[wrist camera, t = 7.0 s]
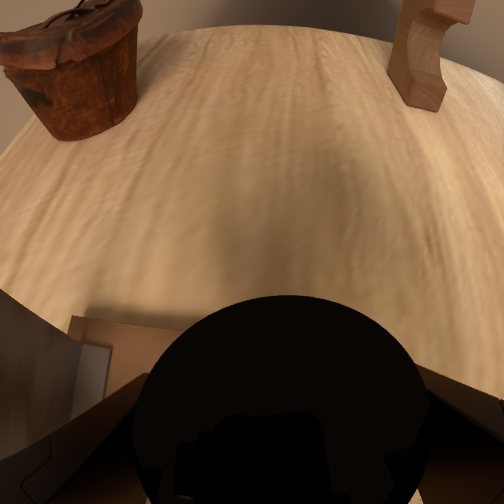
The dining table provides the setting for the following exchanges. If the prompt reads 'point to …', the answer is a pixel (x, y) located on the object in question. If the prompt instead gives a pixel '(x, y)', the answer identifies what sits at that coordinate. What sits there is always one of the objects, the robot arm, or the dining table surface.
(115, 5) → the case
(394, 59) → the decorative block
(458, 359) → the dining table surface
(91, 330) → the shelf board
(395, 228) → the dining table surface
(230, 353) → the supplement container
